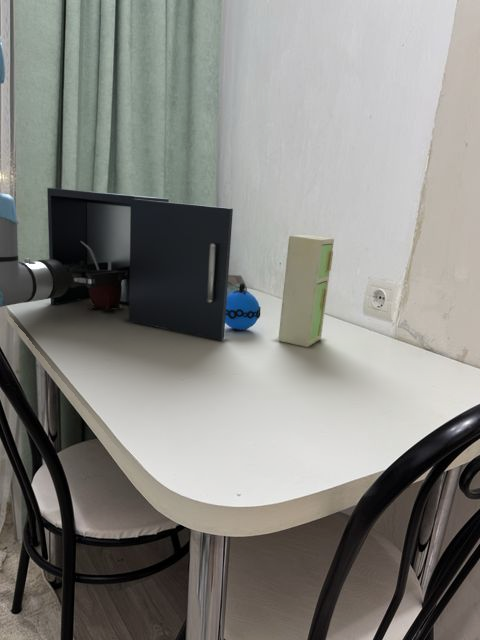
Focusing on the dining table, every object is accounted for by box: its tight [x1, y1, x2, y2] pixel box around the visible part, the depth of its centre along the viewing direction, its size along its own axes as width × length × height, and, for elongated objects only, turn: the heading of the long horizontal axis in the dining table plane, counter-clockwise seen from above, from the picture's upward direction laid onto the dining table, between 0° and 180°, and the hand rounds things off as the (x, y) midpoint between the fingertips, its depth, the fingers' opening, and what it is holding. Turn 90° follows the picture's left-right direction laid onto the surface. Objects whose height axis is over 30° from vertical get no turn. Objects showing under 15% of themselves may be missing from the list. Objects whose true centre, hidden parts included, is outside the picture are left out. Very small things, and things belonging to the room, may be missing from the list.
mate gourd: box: [80, 241, 122, 313], centre depth 114 cm, size 8×8×15 cm
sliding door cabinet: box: [46, 187, 234, 341], centre depth 108 cm, size 45×15×26 cm, turn 66°
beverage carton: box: [227, 274, 248, 295], centre depth 134 cm, size 8×19×7 cm, turn 6°
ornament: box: [225, 283, 261, 331], centre depth 107 cm, size 9×9×10 cm
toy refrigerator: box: [278, 234, 335, 348], centre depth 101 cm, size 8×7×21 cm
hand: (118, 270), depth 117 cm, fingers closed on mate gourd, 6 cm apart
